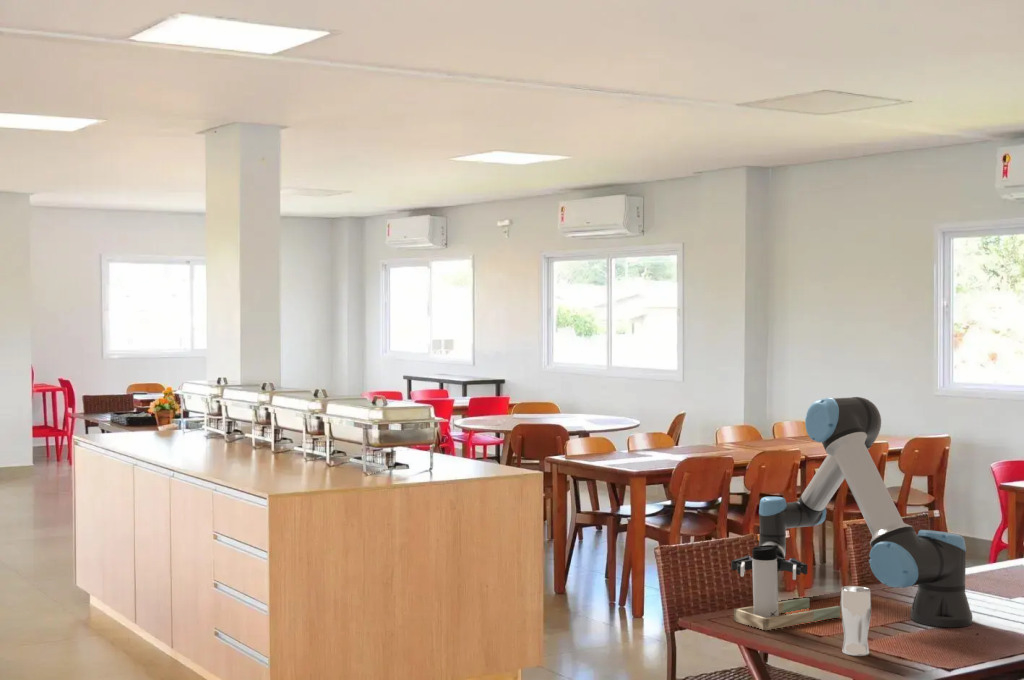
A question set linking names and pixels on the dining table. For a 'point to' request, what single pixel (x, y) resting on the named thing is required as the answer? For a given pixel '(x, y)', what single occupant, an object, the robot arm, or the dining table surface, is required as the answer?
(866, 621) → the beer glass
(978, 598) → the dining table surface
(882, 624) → the dining table surface
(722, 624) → the dining table surface
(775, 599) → the travel mug
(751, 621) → the bay
